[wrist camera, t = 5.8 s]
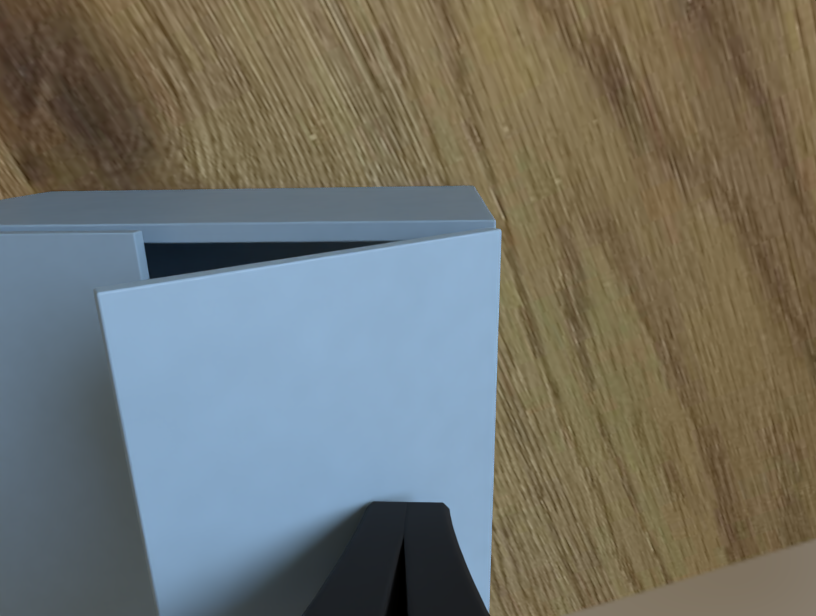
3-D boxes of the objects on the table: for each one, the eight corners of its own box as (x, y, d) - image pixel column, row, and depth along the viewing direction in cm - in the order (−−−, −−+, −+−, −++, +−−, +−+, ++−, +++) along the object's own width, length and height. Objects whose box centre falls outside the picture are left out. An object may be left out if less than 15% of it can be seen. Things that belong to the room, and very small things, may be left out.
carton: (474, 185, 16) (500, 225, 10) (468, 499, 20) (485, 693, 13) (50, 191, 17) (-202, 233, 10) (113, 494, 20) (-47, 676, 14)
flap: (490, 226, 10) (502, 228, 10) (478, 682, 13) (487, 692, 13) (92, 287, 7) (96, 292, 6) (209, 882, 10) (214, 901, 10)
